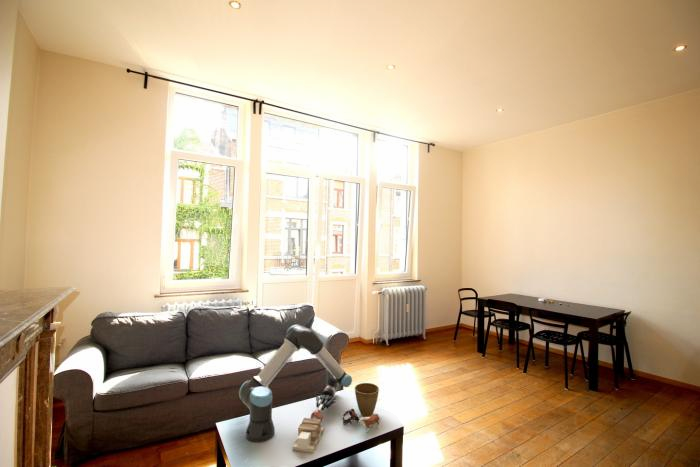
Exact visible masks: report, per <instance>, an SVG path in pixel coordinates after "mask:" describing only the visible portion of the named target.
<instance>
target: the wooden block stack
mask: <svg viewBox="0 0 700 467" xmlns="http://www.w3.org/2000/svg"><path fill="white" fill-rule="evenodd" d="M310 418H311V419H319V420H321V423H322V422H323V420H324V415H323V413H322V412H320V411H318V410H314V411H313V412H312V413H311V415H310ZM305 432H311V431H305Z"/></svg>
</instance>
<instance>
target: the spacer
mask: <svg viewBox="0 0 700 467" xmlns="http://www.w3.org/2000/svg"><path fill="white" fill-rule="evenodd" d="M297 438H298V448H301V449H308V447H309V445H310V443H311V432H303V431H302V432H301V433H300V435H299V437H298V436H297Z"/></svg>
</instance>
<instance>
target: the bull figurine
mask: <svg viewBox="0 0 700 467" xmlns="http://www.w3.org/2000/svg"><path fill="white" fill-rule="evenodd" d="M379 419H380V417H379V414H378V413H376V414H373V415H372V416H370V417H364V416H361V417H360V418H359V423H360V424H362V425H363V426H364V427H365V431H366V432H365V433H366V434H368V433H369V429H370V428H373V427H374V425H376V424H377V425H376V429H379V425H380V422H379ZM359 423H358V424H359ZM370 426H371V427H370Z"/></svg>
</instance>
